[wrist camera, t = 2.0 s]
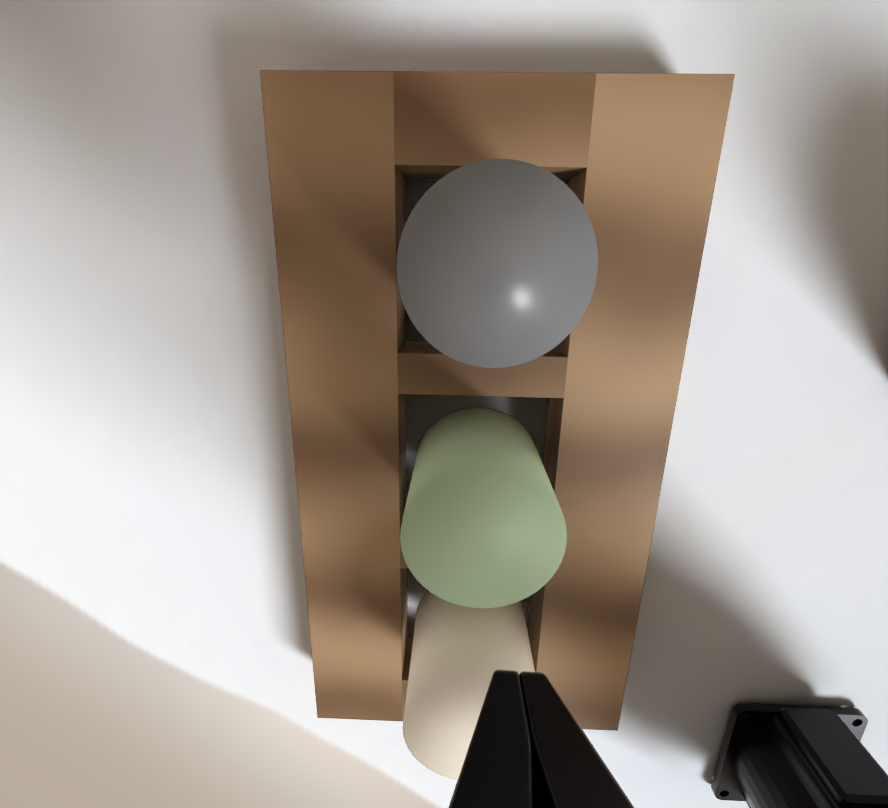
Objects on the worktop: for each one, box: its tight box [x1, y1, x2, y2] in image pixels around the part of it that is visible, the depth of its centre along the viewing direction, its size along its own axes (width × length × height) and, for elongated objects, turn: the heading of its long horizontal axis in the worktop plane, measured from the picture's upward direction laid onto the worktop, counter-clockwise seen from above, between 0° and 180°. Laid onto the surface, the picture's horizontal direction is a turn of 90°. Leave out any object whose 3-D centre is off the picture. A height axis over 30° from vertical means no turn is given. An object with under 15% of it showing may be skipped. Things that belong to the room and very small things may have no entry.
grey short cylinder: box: [396, 159, 598, 368], centre depth 13 cm, size 5×5×5 cm
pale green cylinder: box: [400, 408, 567, 608], centre depth 16 cm, size 5×5×5 cm
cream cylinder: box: [403, 591, 535, 780], centre depth 18 cm, size 5×5×5 cm
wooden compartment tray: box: [260, 70, 735, 730], centre depth 19 cm, size 26×14×2 cm, turn 179°
